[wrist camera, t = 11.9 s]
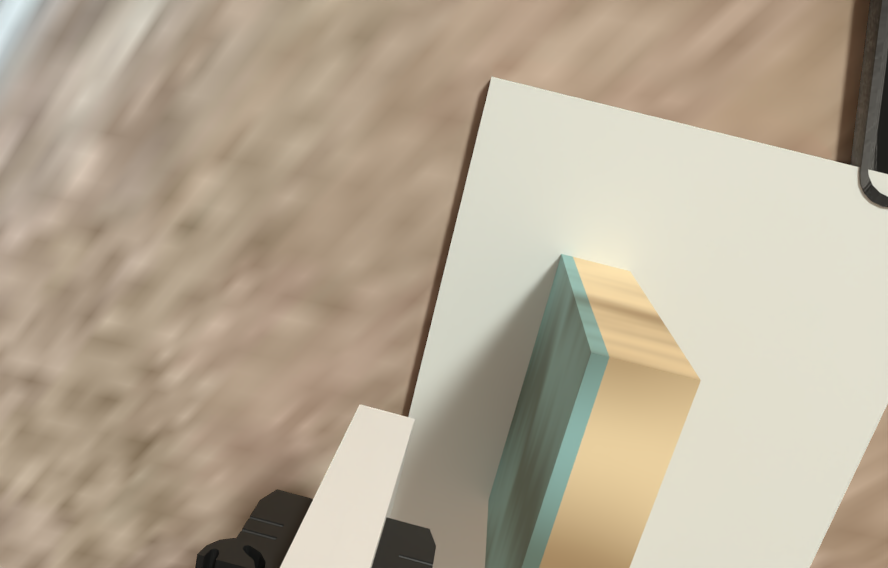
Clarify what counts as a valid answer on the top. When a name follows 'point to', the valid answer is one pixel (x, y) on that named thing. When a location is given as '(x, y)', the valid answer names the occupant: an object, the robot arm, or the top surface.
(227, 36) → the top surface
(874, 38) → the phone
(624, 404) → the tile
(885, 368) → the mat
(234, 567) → the robot arm
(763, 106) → the top surface
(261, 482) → the top surface
